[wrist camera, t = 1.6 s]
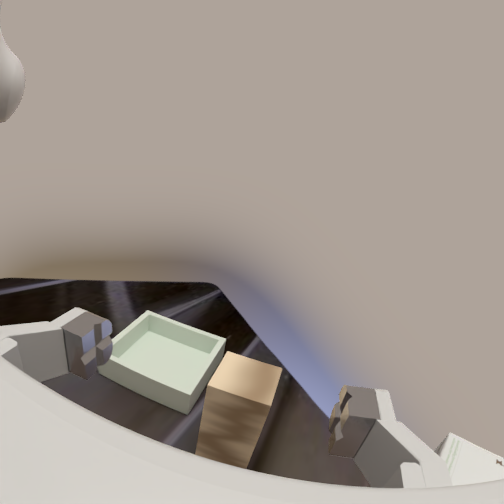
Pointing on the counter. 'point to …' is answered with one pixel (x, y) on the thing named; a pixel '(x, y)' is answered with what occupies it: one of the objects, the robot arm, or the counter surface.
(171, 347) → the dish
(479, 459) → the skincare box
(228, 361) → the oak block
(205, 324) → the counter surface
